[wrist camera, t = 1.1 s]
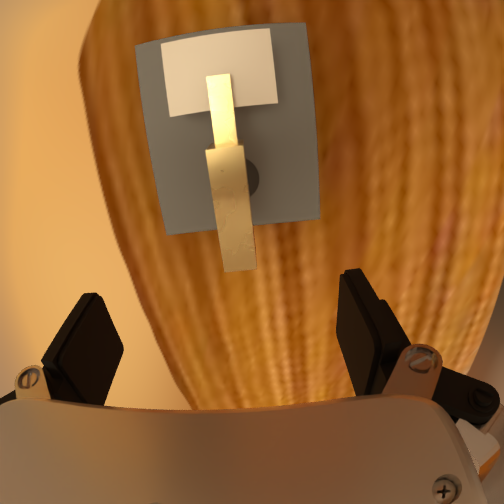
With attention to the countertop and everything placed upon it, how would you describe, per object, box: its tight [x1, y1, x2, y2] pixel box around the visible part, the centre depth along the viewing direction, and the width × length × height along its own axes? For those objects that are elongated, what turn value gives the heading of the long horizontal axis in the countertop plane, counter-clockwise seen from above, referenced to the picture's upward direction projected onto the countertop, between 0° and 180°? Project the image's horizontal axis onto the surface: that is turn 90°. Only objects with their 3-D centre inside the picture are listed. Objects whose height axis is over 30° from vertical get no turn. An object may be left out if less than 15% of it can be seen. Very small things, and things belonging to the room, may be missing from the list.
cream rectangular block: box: [161, 28, 278, 117], centre depth 22 cm, size 8×6×6 cm
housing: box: [135, 23, 320, 235], centre depth 28 cm, size 16×20×2 cm
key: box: [205, 74, 257, 272], centre depth 24 cm, size 2×14×9 cm, turn 6°
